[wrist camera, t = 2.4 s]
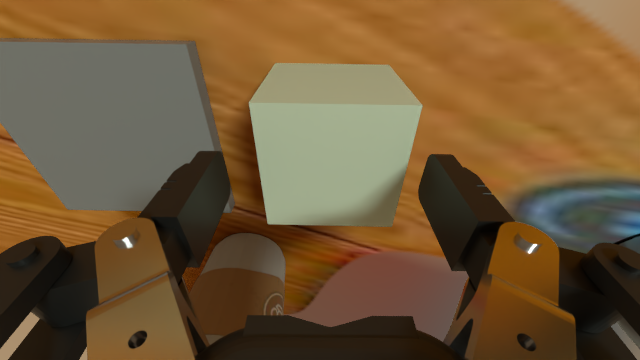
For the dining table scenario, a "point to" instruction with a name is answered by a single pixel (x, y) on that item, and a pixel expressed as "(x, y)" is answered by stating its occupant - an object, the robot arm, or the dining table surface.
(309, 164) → the sage block
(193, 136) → the slate board
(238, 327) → the coffee cup
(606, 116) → the dining table surface
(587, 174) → the dining table surface
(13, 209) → the dining table surface
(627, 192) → the dining table surface
